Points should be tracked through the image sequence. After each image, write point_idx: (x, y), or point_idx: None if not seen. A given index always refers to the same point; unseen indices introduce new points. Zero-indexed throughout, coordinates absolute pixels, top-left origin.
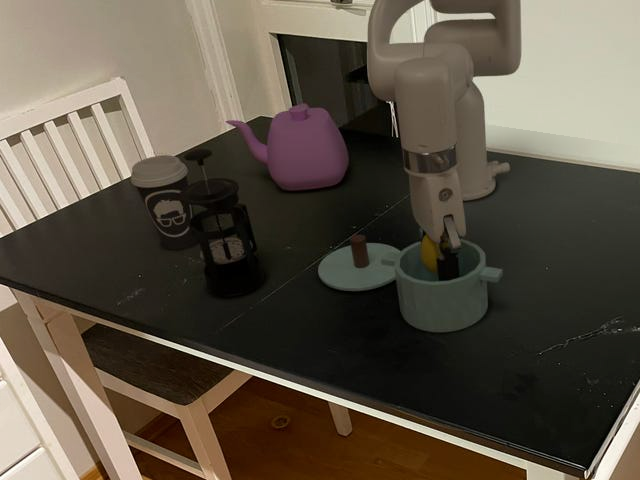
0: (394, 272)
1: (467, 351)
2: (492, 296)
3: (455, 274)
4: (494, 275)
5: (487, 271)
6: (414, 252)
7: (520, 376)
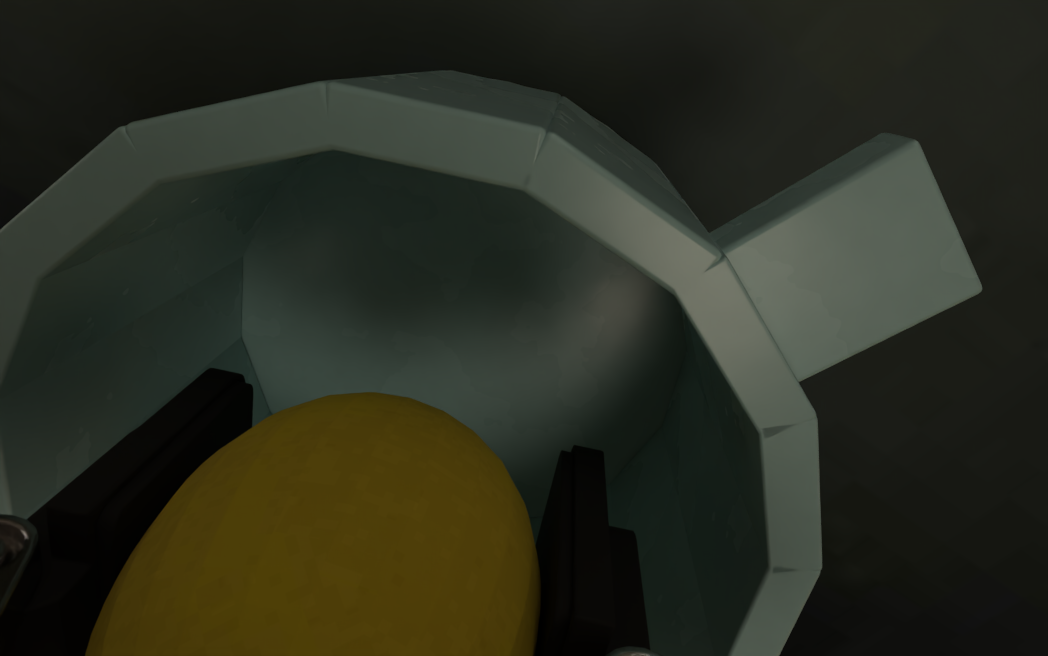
0: None
1: (864, 466)
2: (552, 38)
3: (634, 538)
4: (934, 291)
5: (818, 300)
6: None
7: None
